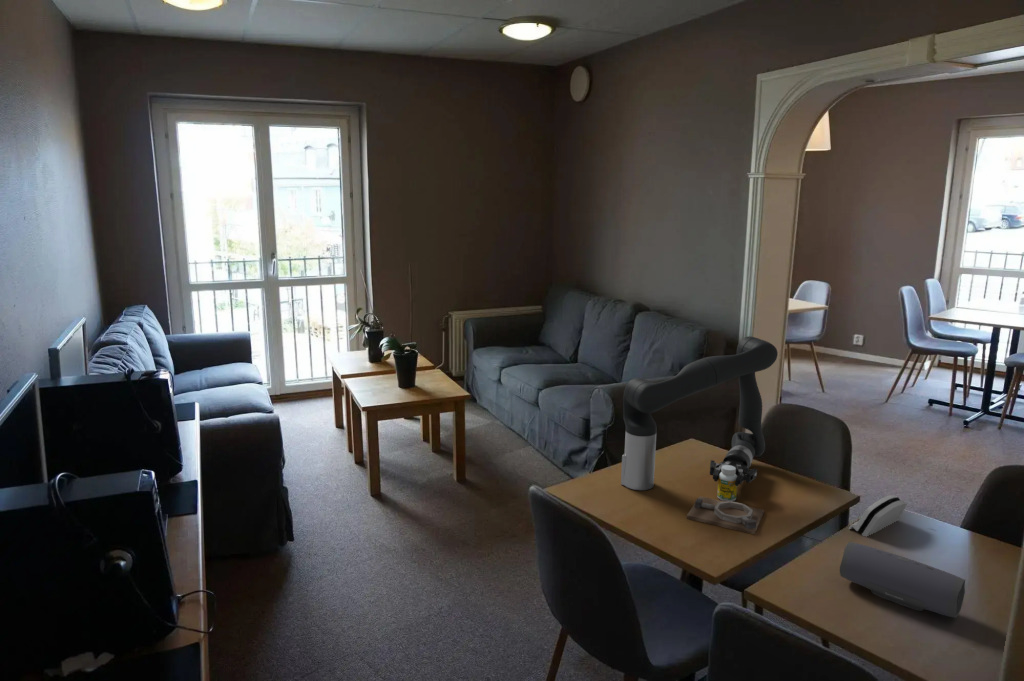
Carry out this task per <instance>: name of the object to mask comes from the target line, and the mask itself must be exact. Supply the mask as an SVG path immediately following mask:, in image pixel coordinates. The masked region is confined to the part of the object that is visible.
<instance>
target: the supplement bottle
mask: <svg viewBox="0 0 1024 681" xmlns="http://www.w3.org/2000/svg"><path fill="white" fill-rule="evenodd" d="M721 471H722V472H721V473H720V474H719V476H718V481H717V494H716V496H717V498H718V500H720V501H725V502H726V501H732V502H735V501H736V500H737V494H738V493H737V492H738V486H735V483H736V478H737V475H736V474H735V473H736V468H735V467H734V466H731V465H723V466H722V467H721Z"/></svg>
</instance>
